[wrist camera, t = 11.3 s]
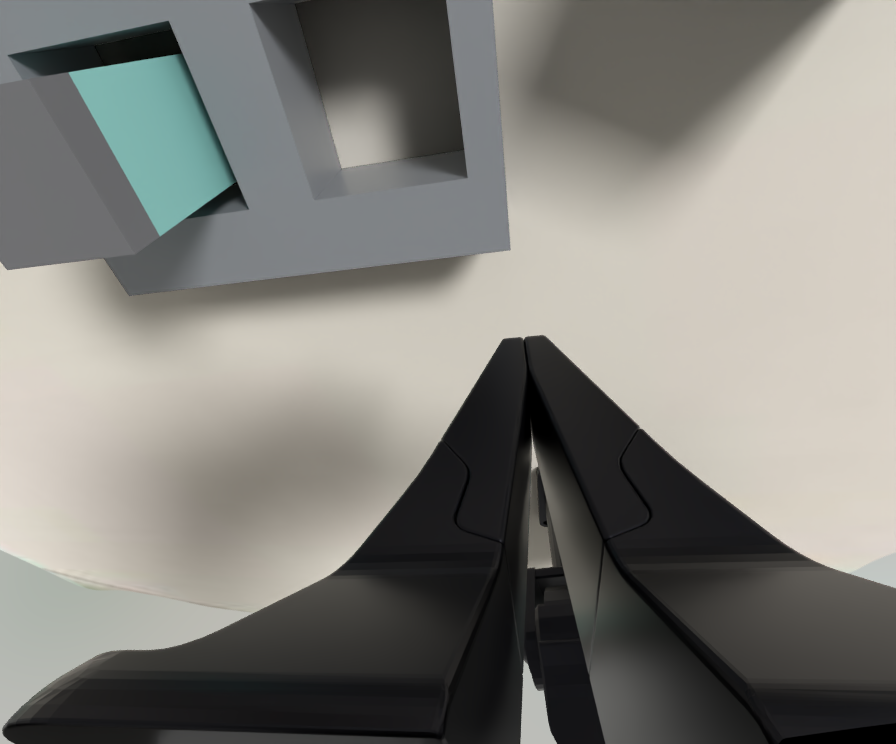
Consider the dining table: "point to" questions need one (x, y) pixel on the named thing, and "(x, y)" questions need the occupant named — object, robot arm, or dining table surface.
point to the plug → (103, 161)
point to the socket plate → (286, 144)
